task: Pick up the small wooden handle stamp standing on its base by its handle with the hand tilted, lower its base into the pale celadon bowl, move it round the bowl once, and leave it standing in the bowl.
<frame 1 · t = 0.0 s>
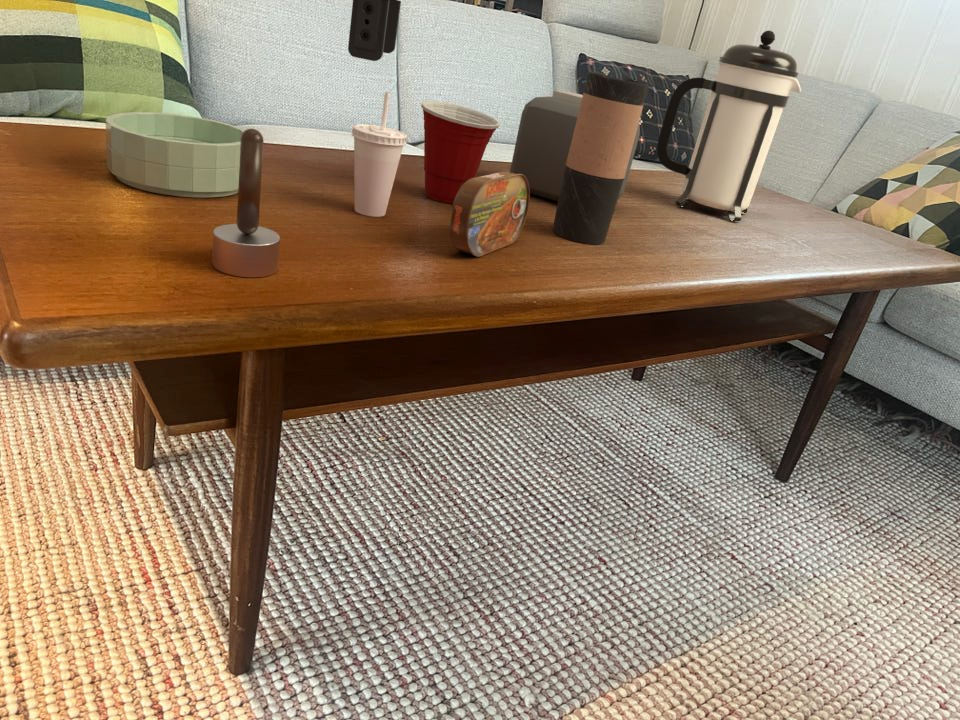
hand: (372, 54, 52), 20 cm above the table, tool pointing down, fingers open, 8 cm apart
coffee press: (703, 209, 131), on the table
smoothie: (369, 213, 88), on the table
wooden handle stamp: (245, 266, 65), on the table
bowl: (181, 180, 85), on the table
tin: (483, 248, 84), on the table
plastic cup: (446, 199, 102), on the table
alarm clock: (560, 199, 116), on the table
travel mug: (578, 237, 97), on the table
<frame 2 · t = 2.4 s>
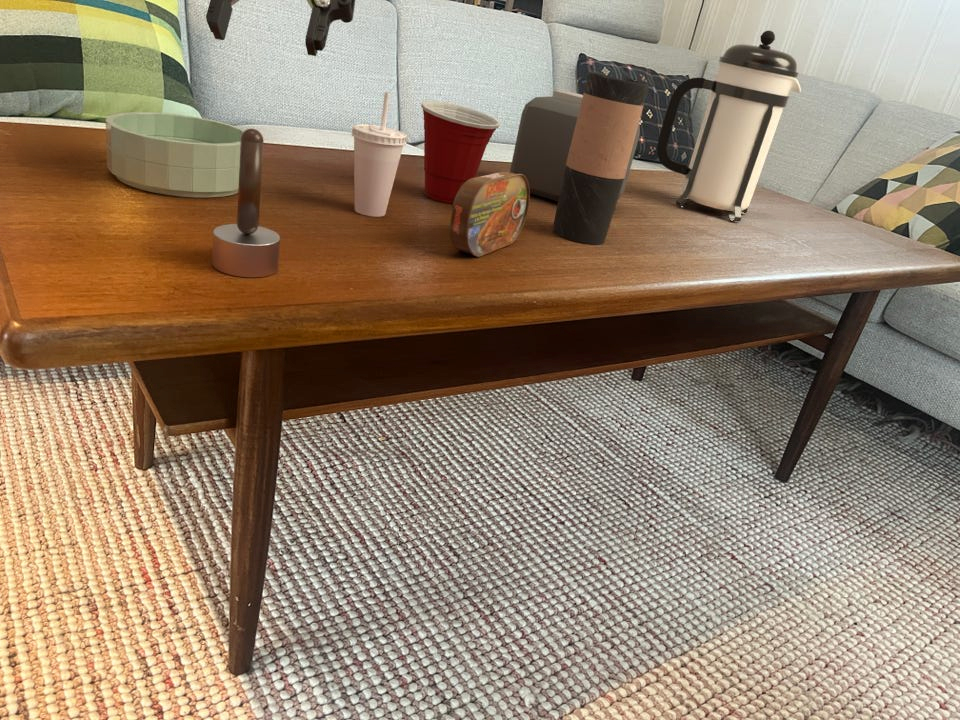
hand: (263, 41, 66), 18 cm above the table, tool tilted 40°, fingers open, 8 cm apart
nothing on the table moved.
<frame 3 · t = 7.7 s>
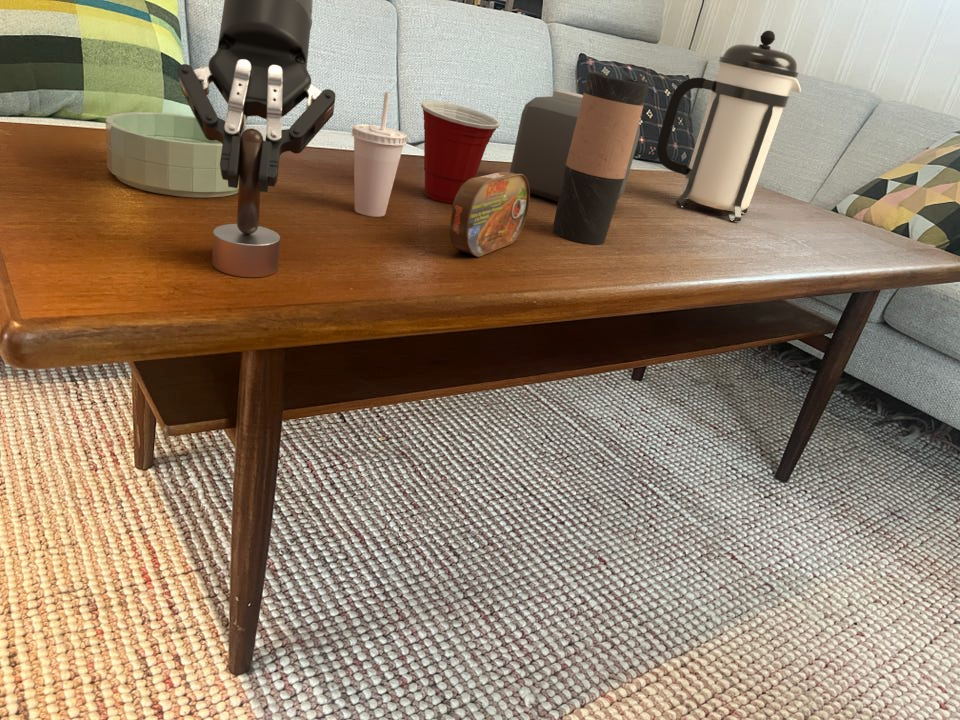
hand: (248, 184, 60), 8 cm above the table, tool tilted 45°, fingers closed on wooden handle stamp
wooden handle stamp: (245, 266, 65), on the table, touching gripper
everything else where it was.
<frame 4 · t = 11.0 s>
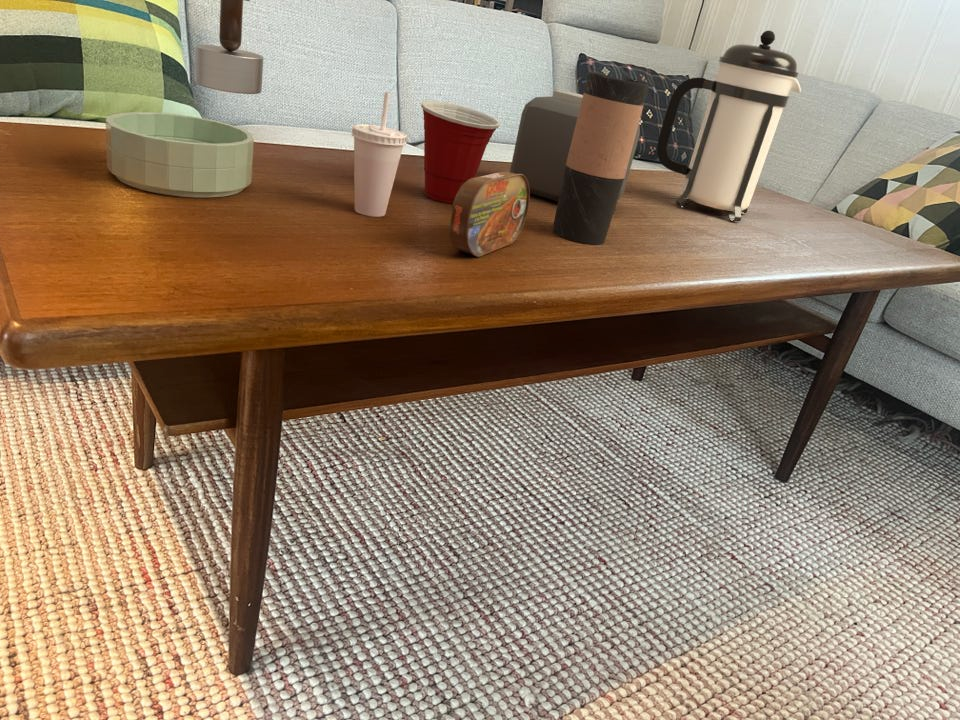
wooden handle stamp: (228, 87, 64), point 14 cm above the table, touching gripper
everything else where it was.
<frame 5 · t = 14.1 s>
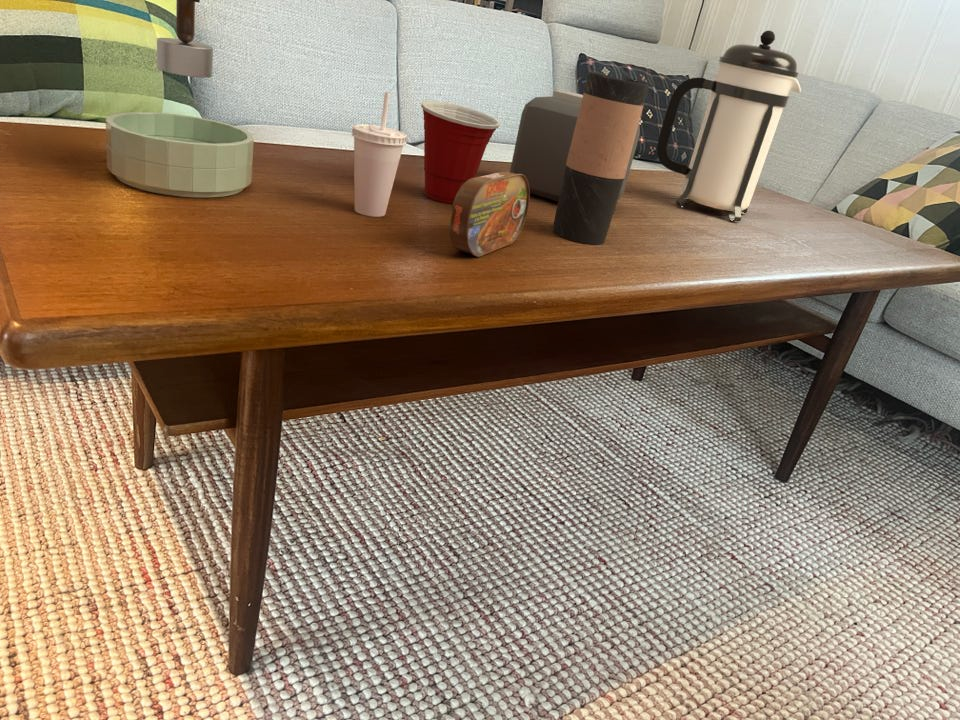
wooden handle stamp: (185, 72, 80), point 12 cm above the table, touching gripper
everything else where it was.
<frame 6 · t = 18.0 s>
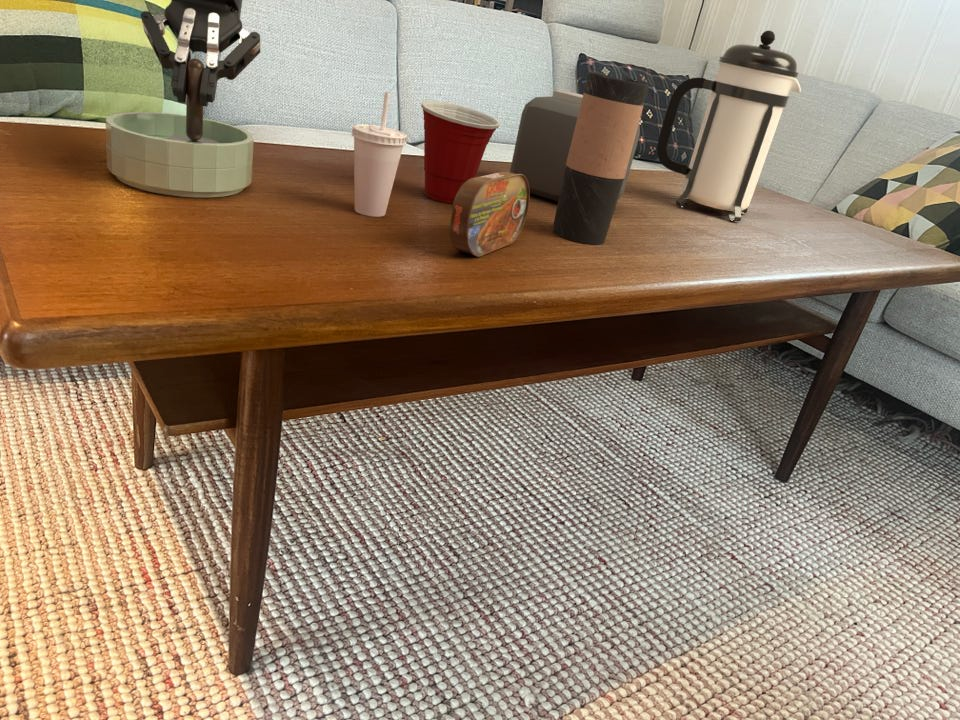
hand: (192, 99, 81), 9 cm above the table, tool tilted 45°, fingers closed on wooden handle stamp
wooden handle stamp: (193, 166, 86), point 1 cm above the table, touching gripper
everything else where it was.
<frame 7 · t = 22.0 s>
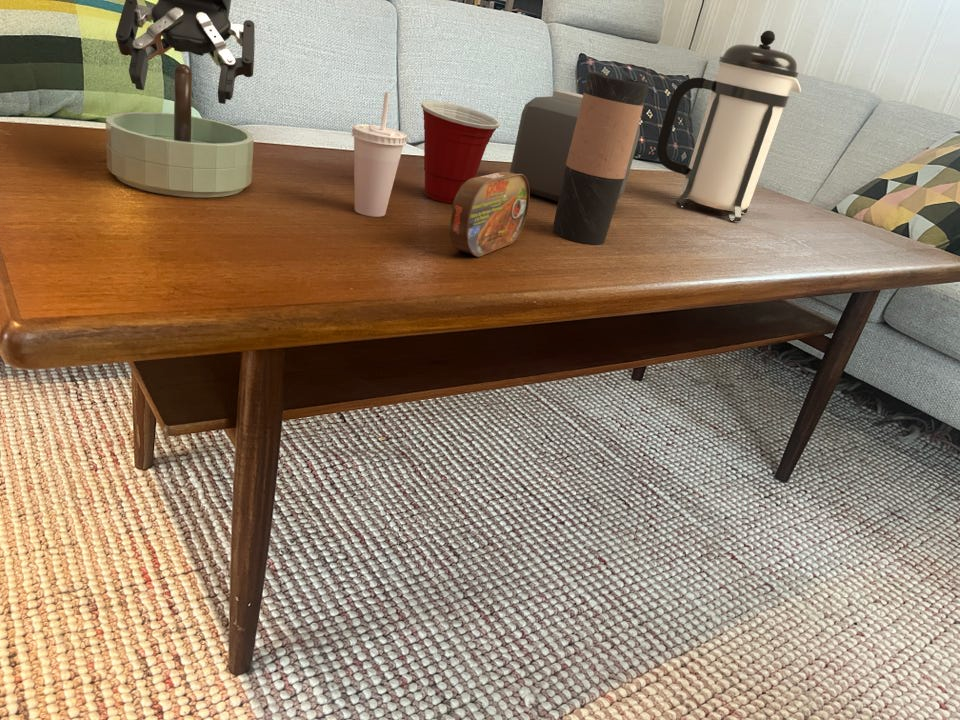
hand: (180, 92, 80), 10 cm above the table, tool tilted 45°, fingers open, 8 cm apart
wooden handle stamp: (182, 173, 85), point 1 cm above the table, touching bowl
everything else where it was.
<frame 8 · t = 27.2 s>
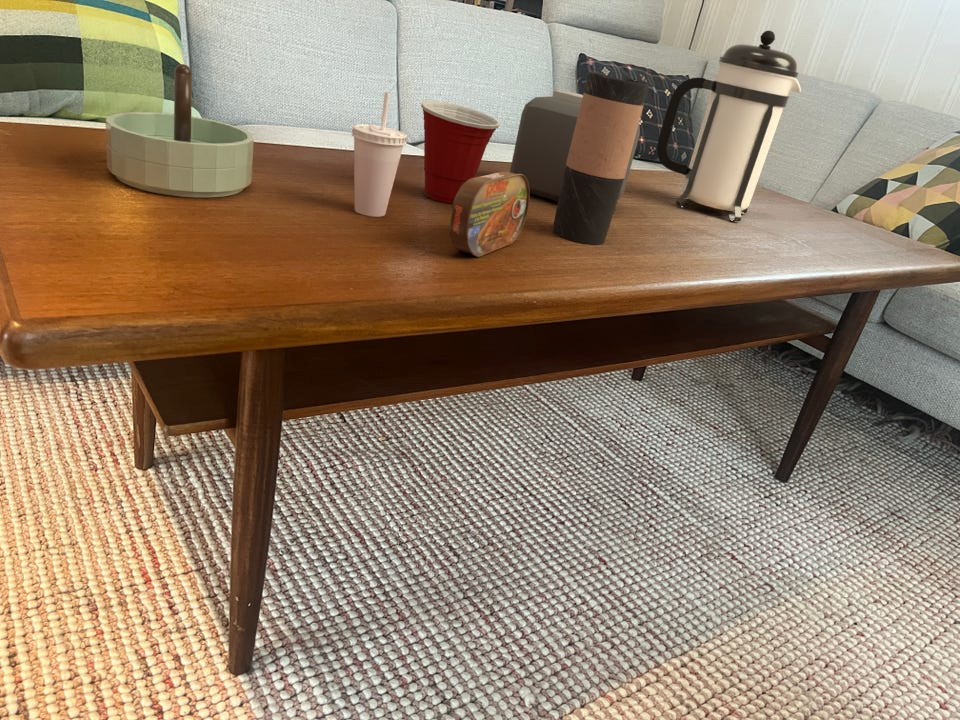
nothing on the table moved.
at the end: wooden handle stamp inside the target area in the bowl (0.1 cm from its centre), point 0.8 cm above the bowl's base; wooden handle stamp tilted 0°; the gripper is holding nothing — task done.
